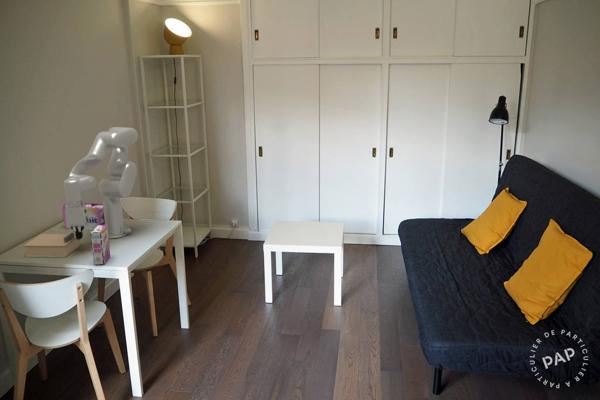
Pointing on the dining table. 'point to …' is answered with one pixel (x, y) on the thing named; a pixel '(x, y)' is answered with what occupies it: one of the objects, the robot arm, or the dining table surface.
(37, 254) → the lidded box
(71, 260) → the dining table surface
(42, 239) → the lid
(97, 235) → the candy bar box
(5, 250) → the dining table surface
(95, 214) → the gum box
